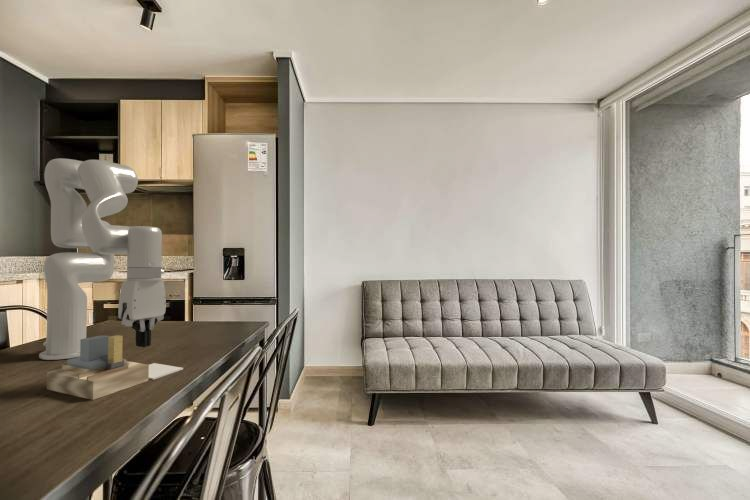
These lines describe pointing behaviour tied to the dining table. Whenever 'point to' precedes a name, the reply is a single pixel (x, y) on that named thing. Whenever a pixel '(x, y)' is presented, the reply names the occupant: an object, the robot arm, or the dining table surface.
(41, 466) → the dining table surface
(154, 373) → the mat
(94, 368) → the cover
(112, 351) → the latch
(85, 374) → the tan box base
